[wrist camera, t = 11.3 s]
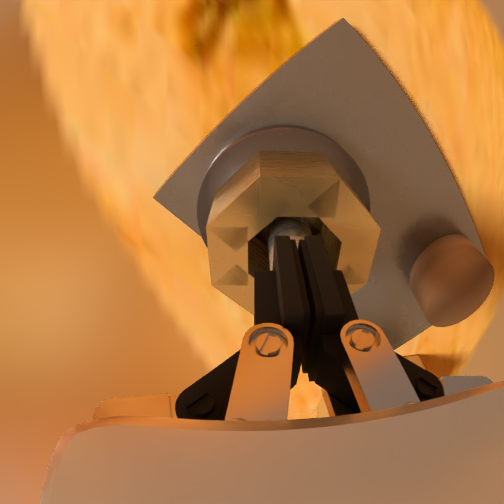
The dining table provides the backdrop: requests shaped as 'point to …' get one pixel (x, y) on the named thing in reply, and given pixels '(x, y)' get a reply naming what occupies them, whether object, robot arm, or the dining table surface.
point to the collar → (286, 205)
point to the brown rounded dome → (451, 280)
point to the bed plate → (364, 154)
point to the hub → (278, 140)
